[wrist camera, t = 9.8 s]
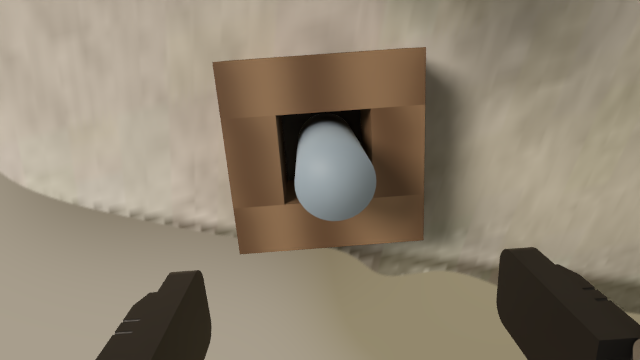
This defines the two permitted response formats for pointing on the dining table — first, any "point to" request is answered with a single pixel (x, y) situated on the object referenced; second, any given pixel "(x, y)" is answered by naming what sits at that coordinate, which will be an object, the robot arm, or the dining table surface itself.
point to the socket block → (324, 96)
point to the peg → (332, 169)
